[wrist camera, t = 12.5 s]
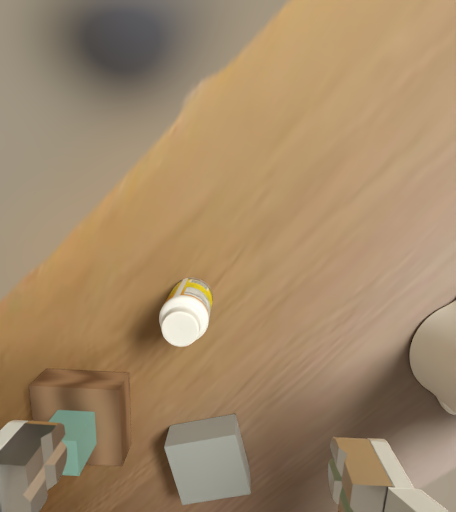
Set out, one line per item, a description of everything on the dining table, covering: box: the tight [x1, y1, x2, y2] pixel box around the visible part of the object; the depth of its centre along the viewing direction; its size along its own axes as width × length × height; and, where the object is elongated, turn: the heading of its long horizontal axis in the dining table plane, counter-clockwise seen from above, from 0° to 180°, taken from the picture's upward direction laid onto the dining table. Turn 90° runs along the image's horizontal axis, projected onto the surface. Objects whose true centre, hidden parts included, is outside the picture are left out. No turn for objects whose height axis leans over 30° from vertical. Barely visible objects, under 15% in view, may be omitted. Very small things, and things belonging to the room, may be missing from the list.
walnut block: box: [29, 369, 131, 466], centre depth 45 cm, size 12×12×4 cm
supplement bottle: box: [159, 278, 213, 347], centre depth 38 cm, size 6×6×10 cm
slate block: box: [164, 414, 251, 505], centre depth 46 cm, size 10×10×4 cm
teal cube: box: [48, 410, 97, 476], centre depth 41 cm, size 5×5×5 cm
